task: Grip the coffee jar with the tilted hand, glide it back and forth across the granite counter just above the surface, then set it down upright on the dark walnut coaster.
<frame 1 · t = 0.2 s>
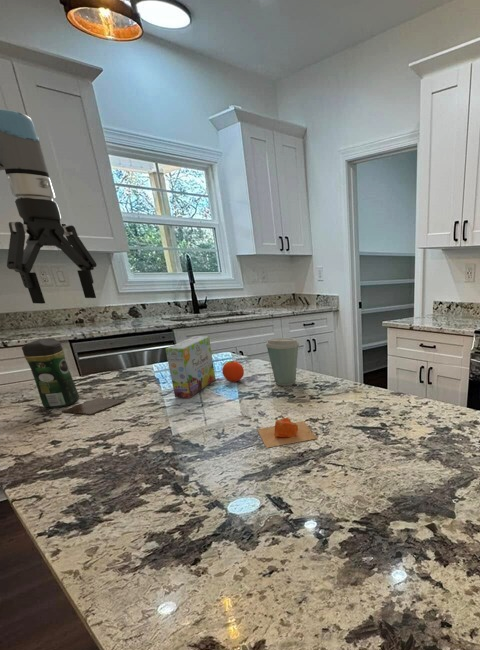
hand: (66, 300, 101), 30 cm above the worktop, tool pointing down, fingers open, 13 cm apart
disposable coffee cup: (286, 383, 141), on the worktop
coffee jar: (62, 404, 123), on the worktop
orange chunks on board: (286, 434, 101), on the worktop
walnut coaster: (94, 406, 120), on the worktop
snack box: (197, 388, 136), on the worktop
clementine: (233, 381, 143), on the worktop
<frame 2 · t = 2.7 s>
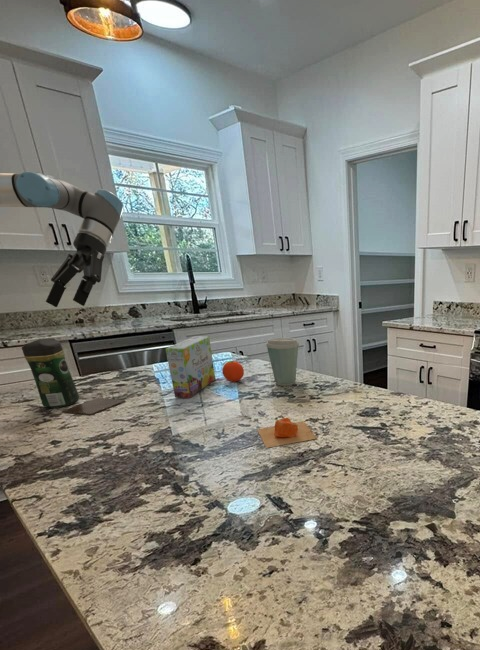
hand: (64, 303, 118), 27 cm above the worktop, tool tilted 40°, fingers open, 13 cm apart
nothing on the worktop moved.
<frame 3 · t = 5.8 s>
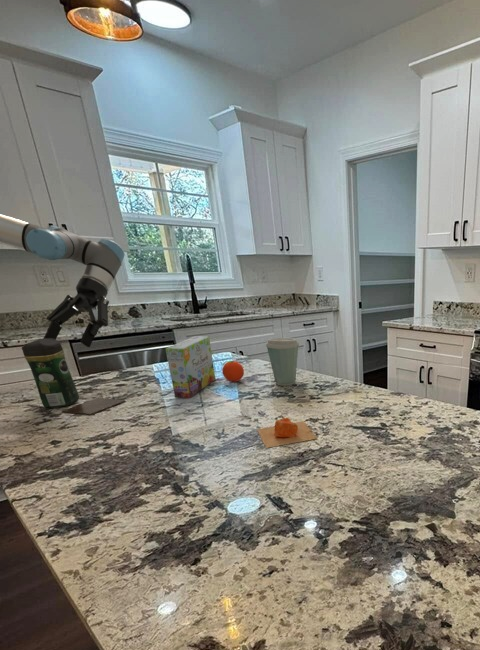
hand: (66, 343, 122), 16 cm above the worktop, tool tilted 45°, fingers open, 13 cm apart
nothing on the worktop moved.
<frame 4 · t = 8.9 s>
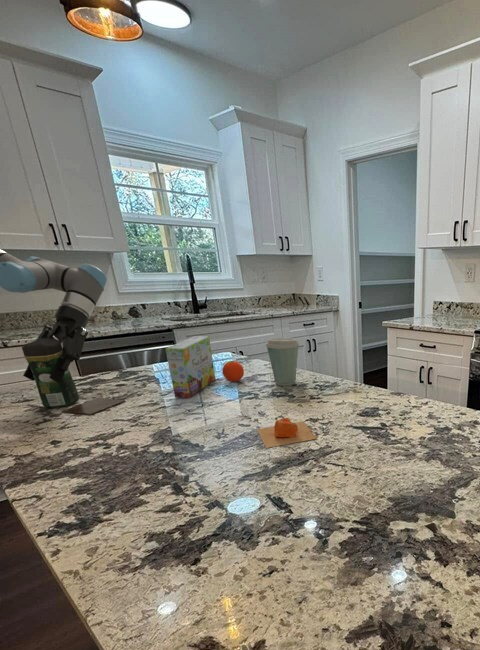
hand: (41, 379, 116), 8 cm above the worktop, tool tilted 45°, fingers closed on coffee jar, 9 cm apart
coffee jar: (62, 404, 123), on the worktop, touching gripper
everything else where it was.
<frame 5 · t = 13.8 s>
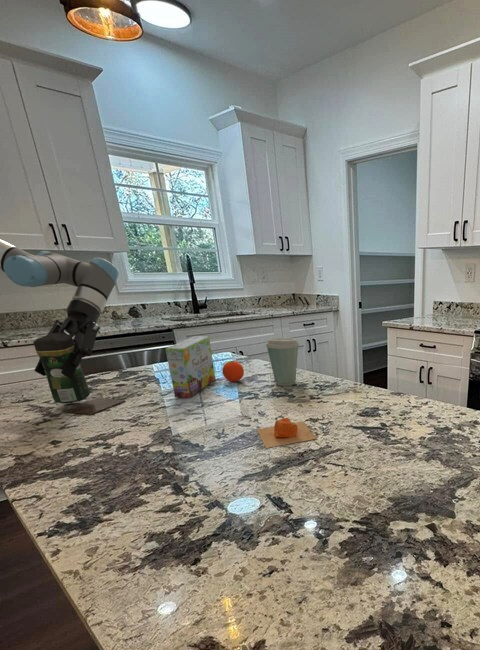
hand: (52, 374, 114), 10 cm above the worktop, tool tilted 45°, fingers closed on coffee jar, 9 cm apart
coffee jar: (73, 399, 121), point 1 cm above the worktop, touching gripper
everything else where it was.
when the fingers open (9 cm above the worktop, at t = 19.1 s): coffee jar stays where it is, resting on walnut coaster.
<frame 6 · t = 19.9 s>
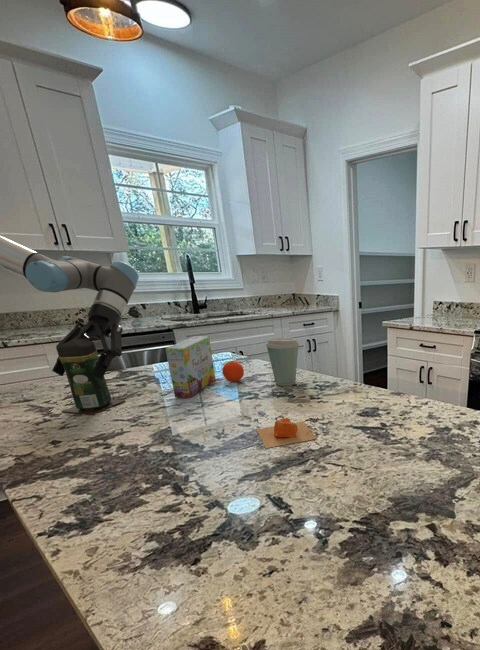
hand: (76, 375, 114), 10 cm above the worktop, tool tilted 45°, fingers open, 13 cm apart
coffee jar: (94, 406, 120), resting on walnut coaster
everything else where it was.
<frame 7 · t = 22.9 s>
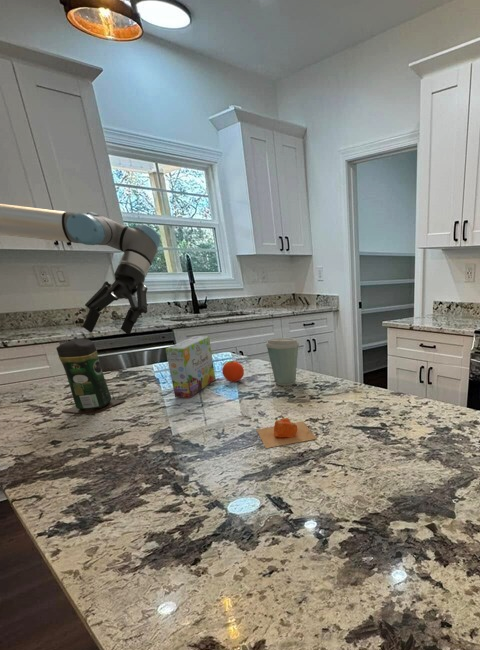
hand: (105, 330, 121), 20 cm above the worktop, tool tilted 45°, fingers open, 13 cm apart
nothing on the worktop moved.
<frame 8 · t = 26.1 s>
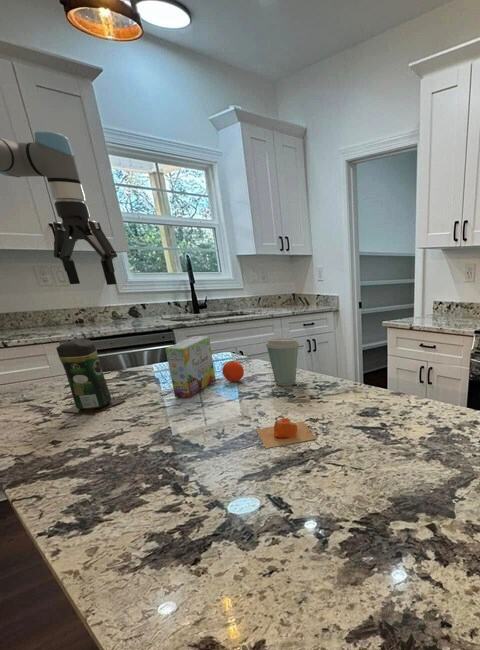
hand: (93, 284, 124), 32 cm above the worktop, tool pointing down, fingers open, 13 cm apart
nothing on the worktop moved.
at the end: coffee jar inside the target area (0.1 cm from its centre), resting on walnut coaster; coffee jar tilted 0°; the gripper is holding nothing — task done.
